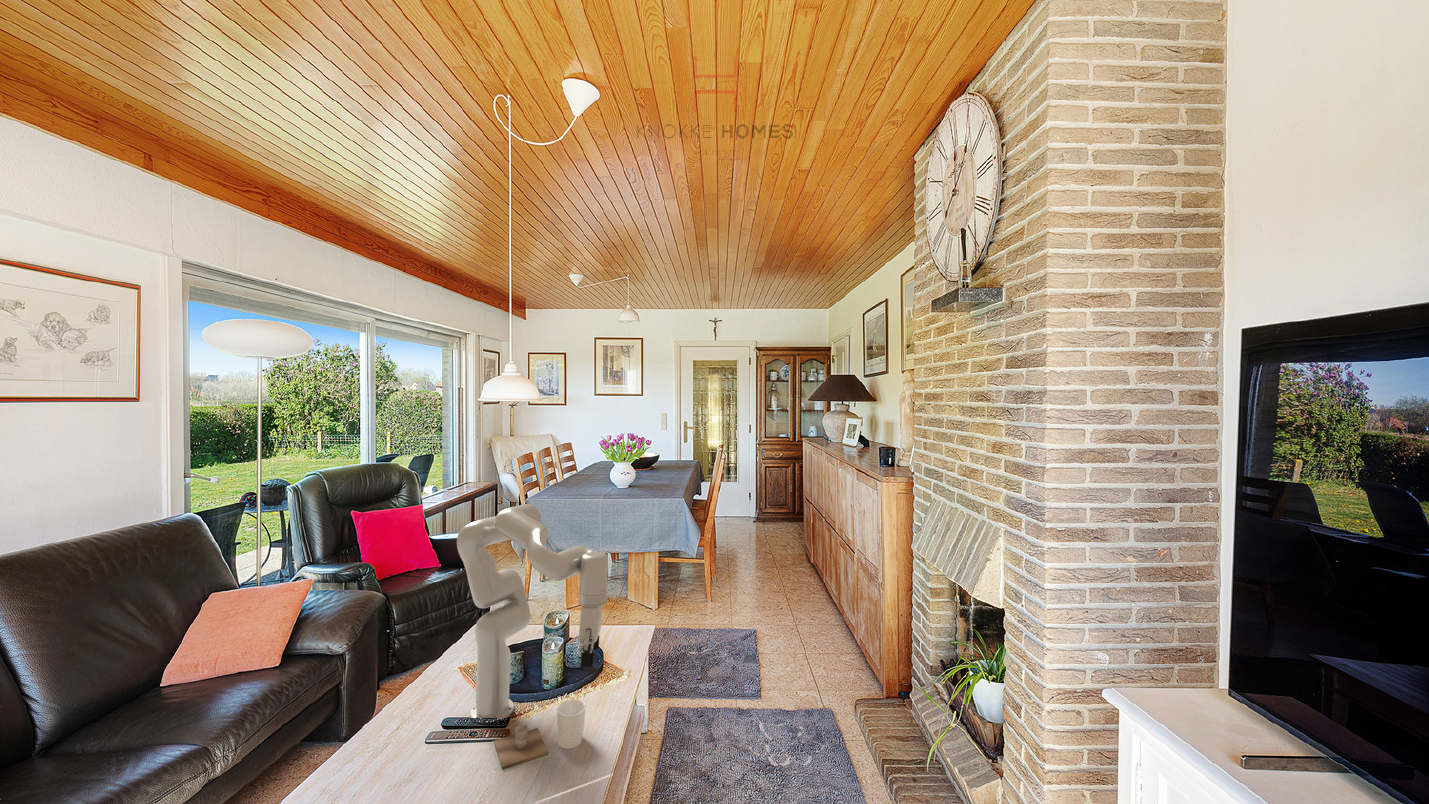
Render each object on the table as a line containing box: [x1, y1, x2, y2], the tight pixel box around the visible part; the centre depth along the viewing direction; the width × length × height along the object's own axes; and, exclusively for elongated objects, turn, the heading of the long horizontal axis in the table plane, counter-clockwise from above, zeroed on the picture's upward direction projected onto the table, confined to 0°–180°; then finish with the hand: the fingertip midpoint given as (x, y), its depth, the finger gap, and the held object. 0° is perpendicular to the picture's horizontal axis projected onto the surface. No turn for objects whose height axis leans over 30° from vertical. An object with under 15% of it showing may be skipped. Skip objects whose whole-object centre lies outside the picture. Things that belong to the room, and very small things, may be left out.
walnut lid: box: [494, 724, 549, 770], centre depth 145 cm, size 12×12×6 cm
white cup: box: [556, 699, 587, 749], centre depth 149 cm, size 8×8×10 cm
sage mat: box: [491, 727, 551, 774], centre depth 145 cm, size 14×13×1 cm
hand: (590, 657), depth 146 cm, fingers open, 9 cm apart
